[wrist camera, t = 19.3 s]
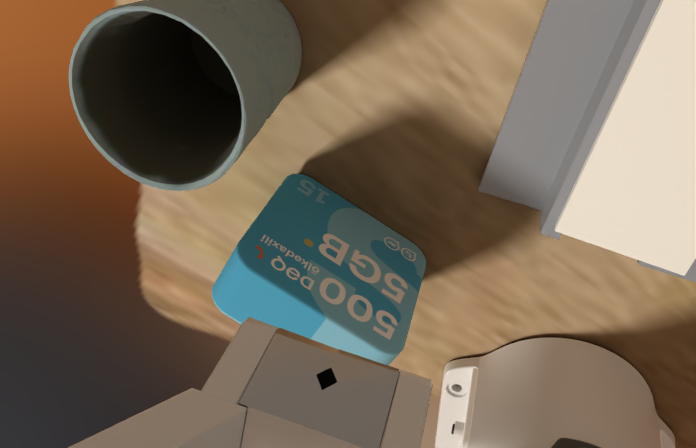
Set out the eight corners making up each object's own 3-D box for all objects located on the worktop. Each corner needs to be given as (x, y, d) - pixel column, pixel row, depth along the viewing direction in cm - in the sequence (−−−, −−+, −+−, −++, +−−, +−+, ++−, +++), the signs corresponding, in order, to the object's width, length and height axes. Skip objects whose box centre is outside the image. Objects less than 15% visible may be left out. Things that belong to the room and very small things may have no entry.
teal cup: (190, 111, 47) (96, 187, 37) (158, -36, 42) (40, 8, 32) (322, 114, 45) (259, 196, 35) (306, -42, 40) (226, 2, 30)
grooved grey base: (715, 256, 43) (732, 300, 39) (479, 184, 44) (472, 219, 40) (956, -107, 30) (1017, -97, 26) (617, -189, 32) (627, -191, 28)
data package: (430, 252, 48) (401, 362, 38) (399, 289, 51) (363, 401, 41) (294, 165, 47) (228, 255, 38) (269, 207, 50) (201, 302, 40)
